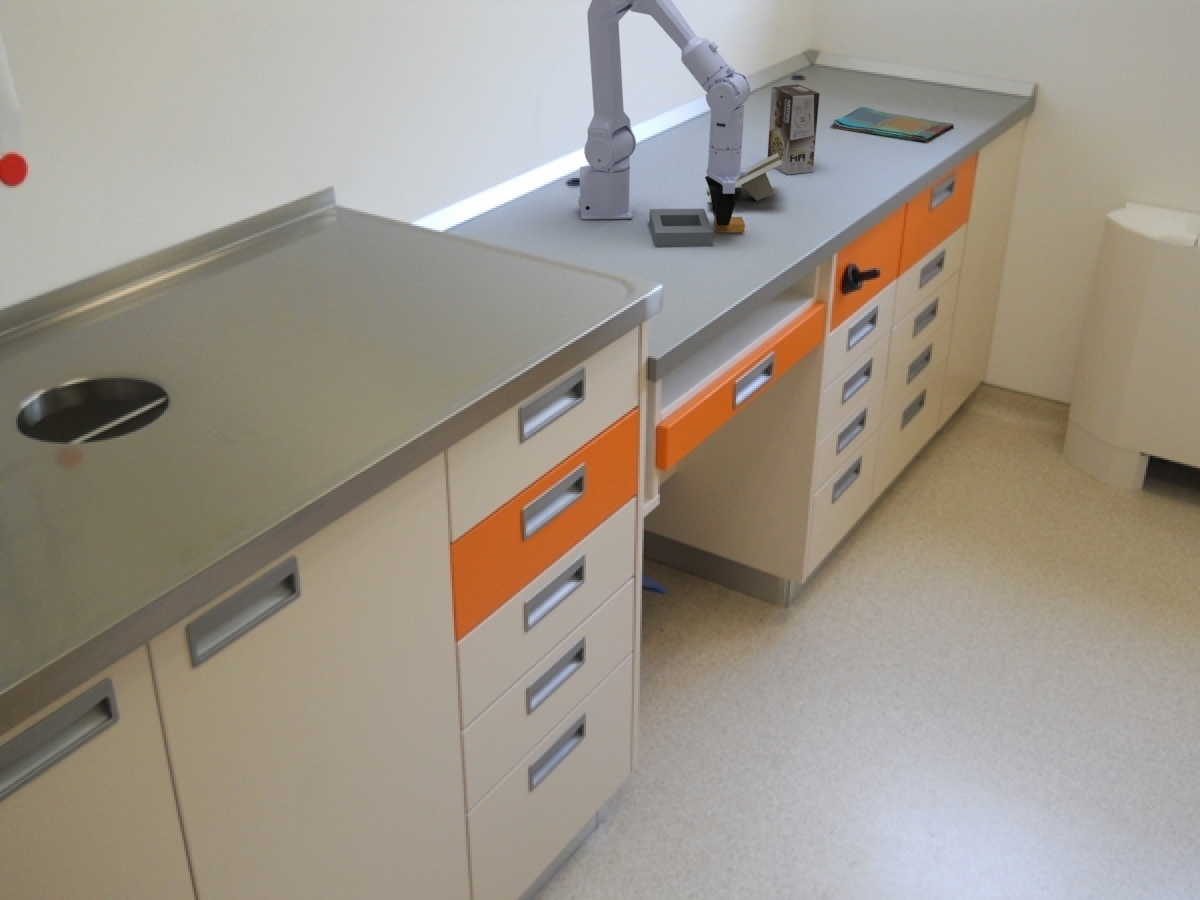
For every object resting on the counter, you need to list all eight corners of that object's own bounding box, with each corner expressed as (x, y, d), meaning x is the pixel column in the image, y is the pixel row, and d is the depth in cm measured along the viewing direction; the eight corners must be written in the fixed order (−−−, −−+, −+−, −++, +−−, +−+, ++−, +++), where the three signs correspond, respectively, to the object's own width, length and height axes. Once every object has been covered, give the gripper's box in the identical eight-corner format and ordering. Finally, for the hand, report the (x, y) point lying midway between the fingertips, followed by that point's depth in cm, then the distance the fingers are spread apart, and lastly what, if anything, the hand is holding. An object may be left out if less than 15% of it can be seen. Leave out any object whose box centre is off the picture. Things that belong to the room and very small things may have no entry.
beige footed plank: (737, 236, 240) (800, 184, 236) (708, 200, 238) (771, 147, 234) (734, 221, 255) (793, 172, 251) (706, 187, 253) (766, 137, 249)
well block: (655, 246, 223) (655, 232, 221) (649, 222, 234) (649, 209, 233) (712, 245, 223) (713, 232, 222) (703, 221, 234) (704, 208, 233)
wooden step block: (716, 232, 228) (718, 202, 225) (713, 224, 231) (715, 195, 229) (744, 232, 228) (746, 202, 225) (741, 224, 231) (743, 195, 229)
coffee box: (814, 172, 262) (821, 93, 254) (786, 175, 260) (792, 95, 252) (792, 160, 269) (798, 83, 262) (765, 163, 267) (770, 85, 260)
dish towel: (860, 115, 305) (861, 104, 304) (954, 130, 294) (955, 119, 292) (829, 130, 293) (830, 119, 292) (925, 146, 281) (927, 135, 280)
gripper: (754, 157, 216) (749, 233, 223) (742, 134, 229) (737, 207, 235) (713, 157, 216) (709, 234, 222) (703, 134, 228) (699, 207, 235)
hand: (721, 220), depth 229 cm, fingers closed on wooden step block, 4 cm apart
